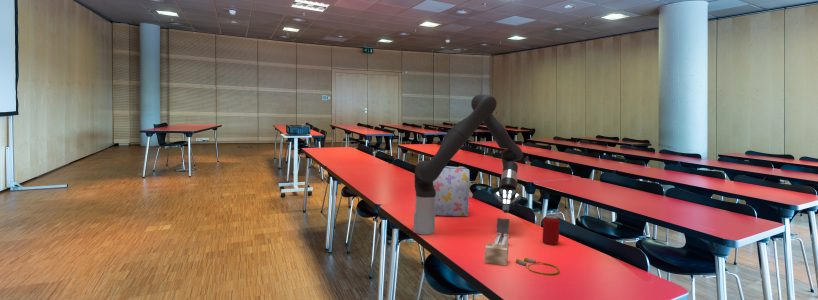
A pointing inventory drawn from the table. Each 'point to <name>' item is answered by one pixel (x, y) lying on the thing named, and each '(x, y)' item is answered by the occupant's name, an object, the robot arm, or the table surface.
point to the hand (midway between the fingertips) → (505, 211)
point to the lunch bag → (452, 192)
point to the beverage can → (551, 229)
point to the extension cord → (535, 264)
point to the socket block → (496, 254)
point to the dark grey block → (502, 228)
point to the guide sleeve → (505, 239)
